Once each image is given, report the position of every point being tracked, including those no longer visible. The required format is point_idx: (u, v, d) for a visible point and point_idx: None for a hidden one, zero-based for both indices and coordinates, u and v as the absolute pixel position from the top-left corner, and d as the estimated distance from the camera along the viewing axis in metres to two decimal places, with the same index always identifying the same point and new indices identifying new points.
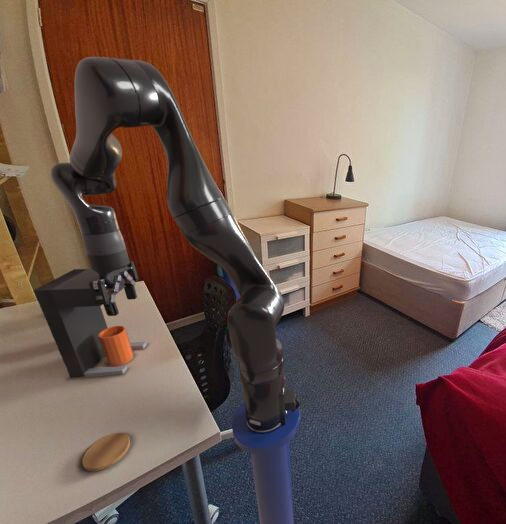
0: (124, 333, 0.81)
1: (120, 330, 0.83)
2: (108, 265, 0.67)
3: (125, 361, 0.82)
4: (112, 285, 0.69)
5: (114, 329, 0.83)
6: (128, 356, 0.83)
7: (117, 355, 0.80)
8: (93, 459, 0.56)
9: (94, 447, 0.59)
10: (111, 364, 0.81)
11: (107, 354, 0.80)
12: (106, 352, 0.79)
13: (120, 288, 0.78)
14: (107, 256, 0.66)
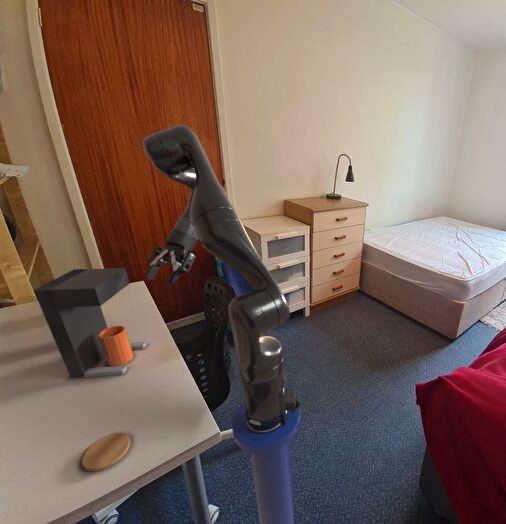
0: (124, 333, 0.81)
1: (120, 330, 0.83)
2: None
3: (125, 361, 0.82)
4: None
5: (114, 329, 0.83)
6: (128, 356, 0.83)
7: (117, 355, 0.80)
8: (93, 459, 0.56)
9: (94, 447, 0.59)
10: (111, 364, 0.81)
11: (107, 354, 0.80)
12: (106, 352, 0.79)
13: (120, 288, 0.78)
14: None
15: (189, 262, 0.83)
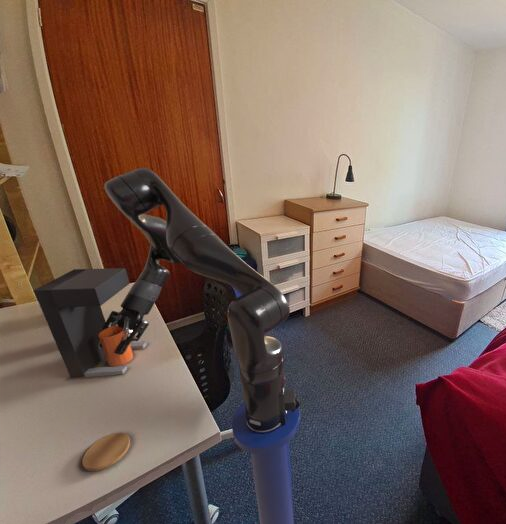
0: None
1: (120, 330, 0.83)
2: None
3: (125, 361, 0.82)
4: None
5: (114, 329, 0.83)
6: (128, 356, 0.83)
7: (117, 355, 0.80)
8: (93, 459, 0.56)
9: (94, 447, 0.59)
10: (111, 364, 0.81)
11: (107, 354, 0.80)
12: (106, 352, 0.79)
13: (120, 288, 0.78)
14: None
15: (140, 331, 0.82)
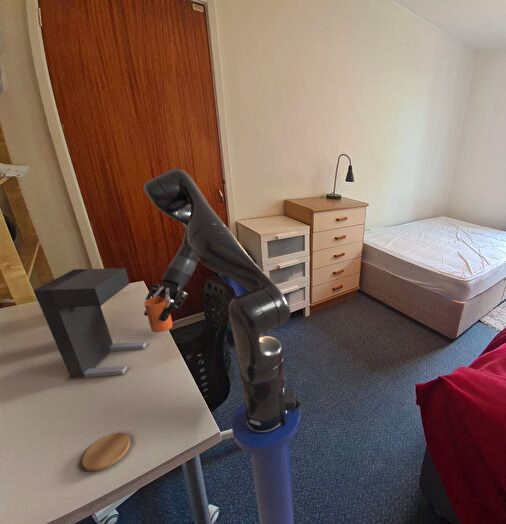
0: None
1: (161, 300, 0.92)
2: None
3: (166, 328, 0.91)
4: None
5: (156, 299, 0.92)
6: (169, 324, 0.92)
7: (160, 322, 0.89)
8: (93, 459, 0.56)
9: (94, 447, 0.59)
10: (154, 330, 0.90)
11: (151, 321, 0.88)
12: (151, 319, 0.88)
13: (120, 288, 0.78)
14: None
15: (181, 300, 0.90)
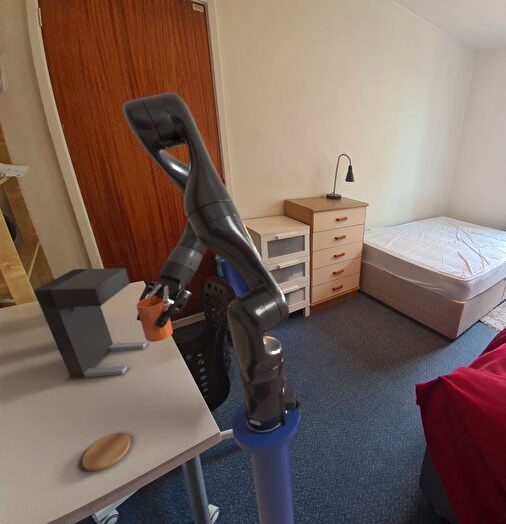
0: None
1: (159, 301, 0.74)
2: None
3: (165, 336, 0.73)
4: None
5: (152, 300, 0.73)
6: (168, 331, 0.73)
7: (157, 328, 0.71)
8: (93, 459, 0.56)
9: (94, 447, 0.59)
10: (150, 339, 0.71)
11: (146, 327, 0.70)
12: (145, 325, 0.70)
13: (120, 288, 0.78)
14: None
15: (183, 301, 0.72)
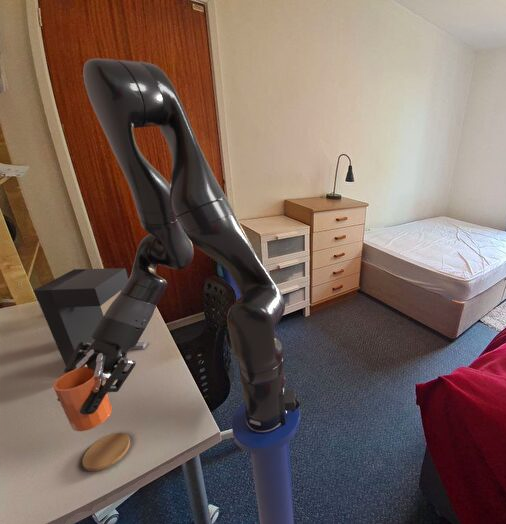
0: None
1: (91, 373, 0.54)
2: None
3: (98, 422, 0.53)
4: None
5: (81, 372, 0.54)
6: (103, 413, 0.54)
7: (85, 414, 0.51)
8: (93, 459, 0.56)
9: (94, 447, 0.59)
10: (75, 428, 0.52)
11: (68, 414, 0.51)
12: (67, 411, 0.50)
13: (120, 288, 0.78)
14: None
15: (122, 376, 0.52)
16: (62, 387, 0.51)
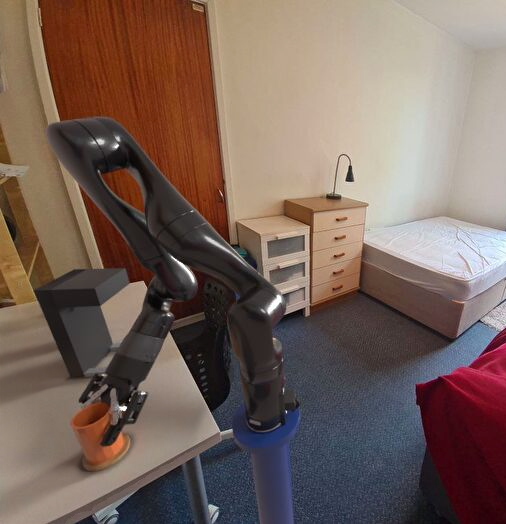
0: (110, 416, 0.56)
1: (104, 408, 0.58)
2: None
3: (111, 455, 0.57)
4: None
5: (96, 407, 0.57)
6: (116, 446, 0.57)
7: (100, 449, 0.55)
8: None
9: None
10: (91, 461, 0.55)
11: (84, 449, 0.54)
12: (83, 446, 0.54)
13: (120, 288, 0.78)
14: None
15: (137, 407, 0.56)
16: (78, 423, 0.55)
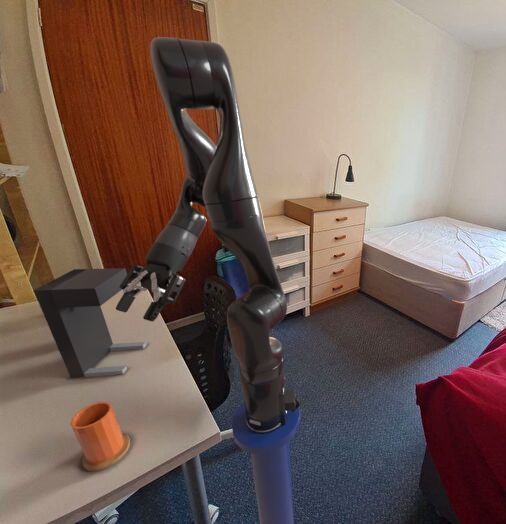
0: (110, 416, 0.56)
1: (104, 408, 0.58)
2: None
3: (111, 455, 0.57)
4: None
5: (96, 407, 0.57)
6: (116, 446, 0.57)
7: (100, 449, 0.55)
8: None
9: None
10: (91, 461, 0.55)
11: (84, 449, 0.54)
12: (83, 446, 0.54)
13: (120, 288, 0.78)
14: None
15: (176, 288, 0.60)
16: (78, 423, 0.55)
